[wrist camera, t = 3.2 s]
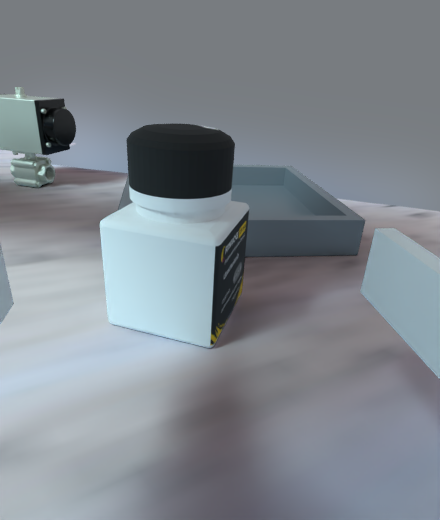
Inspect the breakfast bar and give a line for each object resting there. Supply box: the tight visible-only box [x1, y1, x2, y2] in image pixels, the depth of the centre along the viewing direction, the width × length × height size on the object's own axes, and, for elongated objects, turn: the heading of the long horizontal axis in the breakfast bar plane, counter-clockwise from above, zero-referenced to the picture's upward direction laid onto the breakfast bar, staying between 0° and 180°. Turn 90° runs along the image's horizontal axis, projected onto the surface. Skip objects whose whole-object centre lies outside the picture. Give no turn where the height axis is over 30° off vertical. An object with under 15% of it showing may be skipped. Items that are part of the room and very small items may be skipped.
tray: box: [118, 165, 365, 257], centre depth 43 cm, size 22×22×4 cm
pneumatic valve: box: [0, 87, 76, 188], centre depth 50 cm, size 6×12×12 cm, turn 74°
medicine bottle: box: [100, 124, 249, 348], centre depth 24 cm, size 7×7×12 cm
